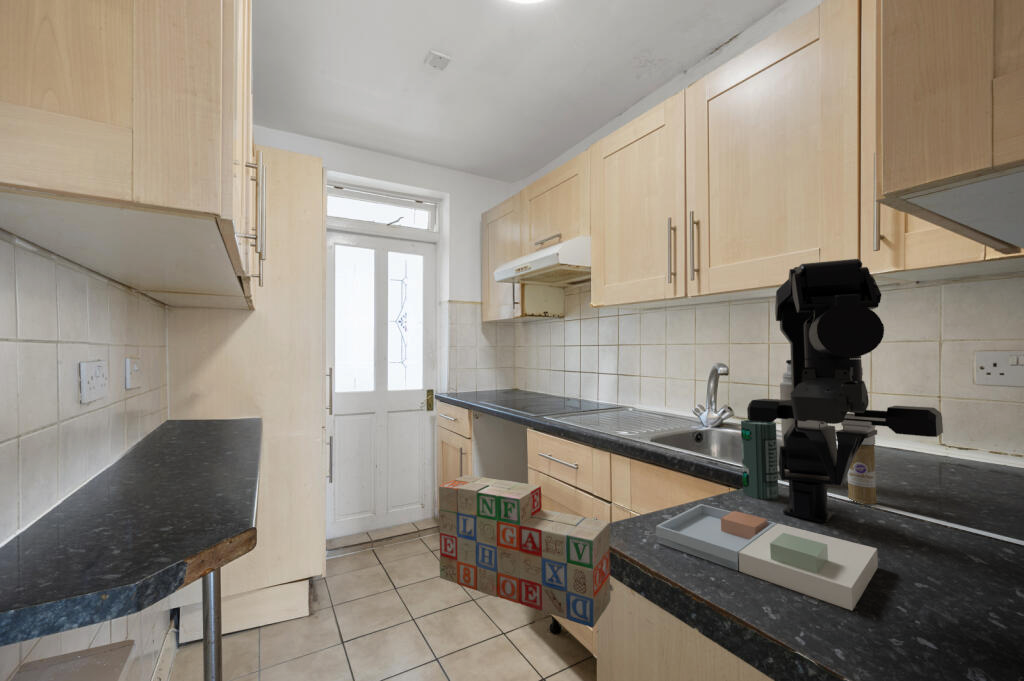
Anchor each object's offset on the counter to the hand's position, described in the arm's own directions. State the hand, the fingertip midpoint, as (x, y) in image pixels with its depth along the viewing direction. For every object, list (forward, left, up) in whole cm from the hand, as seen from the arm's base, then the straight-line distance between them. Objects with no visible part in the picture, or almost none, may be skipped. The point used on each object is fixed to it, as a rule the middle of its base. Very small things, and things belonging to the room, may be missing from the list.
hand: (837, 485), depth 53 cm
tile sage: (+1, -4, -10) cm, 11 cm away
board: (-3, -4, -13) cm, 14 cm away
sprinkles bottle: (-42, -5, -13) cm, 45 cm away
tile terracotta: (-7, -14, -12) cm, 20 cm away
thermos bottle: (-52, -18, -13) cm, 56 cm away
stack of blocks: (+29, -27, -13) cm, 42 cm away
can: (-32, -20, -13) cm, 40 cm away
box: (-3, -16, -13) cm, 21 cm away
